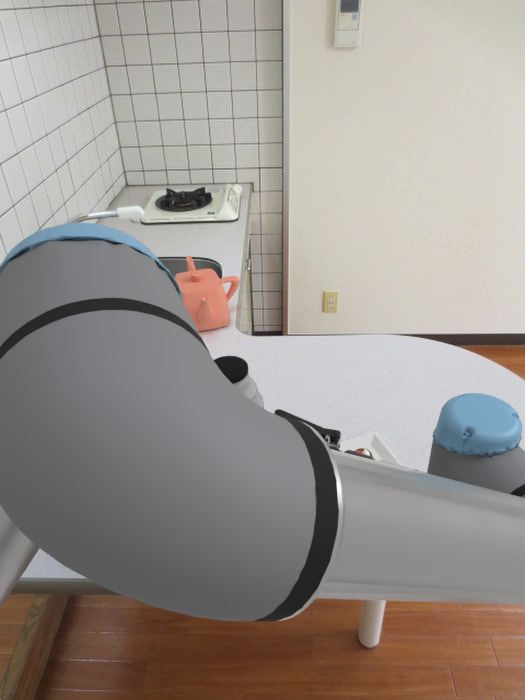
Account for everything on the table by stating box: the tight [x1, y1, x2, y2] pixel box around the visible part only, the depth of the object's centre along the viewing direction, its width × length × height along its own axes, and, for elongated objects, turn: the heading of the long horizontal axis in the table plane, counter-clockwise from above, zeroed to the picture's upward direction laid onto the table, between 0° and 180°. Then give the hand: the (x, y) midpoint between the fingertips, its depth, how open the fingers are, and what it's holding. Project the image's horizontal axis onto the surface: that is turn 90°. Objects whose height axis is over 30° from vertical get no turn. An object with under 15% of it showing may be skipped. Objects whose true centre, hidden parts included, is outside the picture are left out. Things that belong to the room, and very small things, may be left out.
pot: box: [174, 255, 241, 333], centre depth 127 cm, size 18×17×12 cm
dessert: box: [339, 431, 404, 466], centre depth 86 cm, size 12×12×5 cm
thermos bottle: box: [213, 355, 265, 409], centre depth 70 cm, size 8×8×28 cm
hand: (205, 434), depth 71 cm, fingers closed on thermos bottle, 8 cm apart
